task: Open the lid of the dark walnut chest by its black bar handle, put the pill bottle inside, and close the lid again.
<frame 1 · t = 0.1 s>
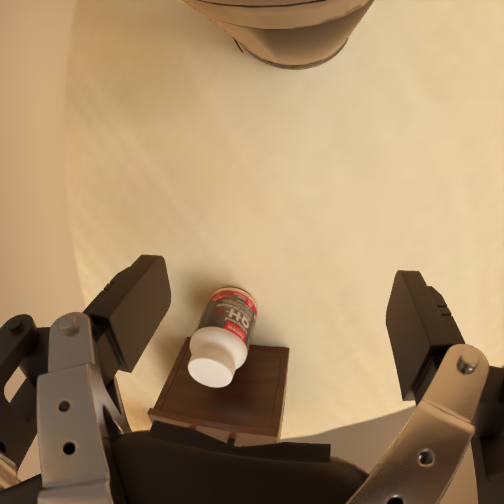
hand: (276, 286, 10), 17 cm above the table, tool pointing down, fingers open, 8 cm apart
lid: (214, 471, 27), point 14 cm above the table, hinge at 0.0°
pill bottle: (233, 304, 33), on the table
chest: (239, 380, 39), on the table
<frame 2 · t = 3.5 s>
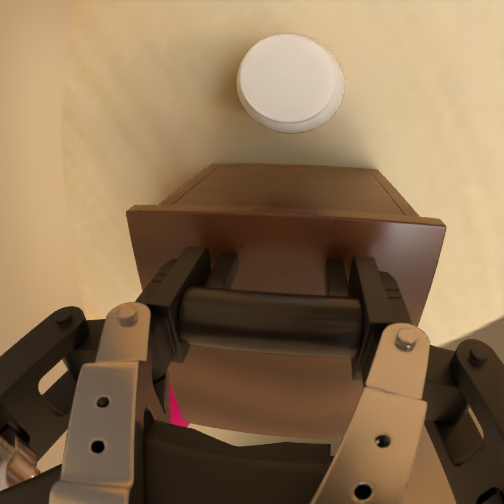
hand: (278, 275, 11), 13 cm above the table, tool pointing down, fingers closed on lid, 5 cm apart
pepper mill: (180, 372, 36), on the table
lid: (273, 393, 13), point 14 cm above the table, hinge at 0.0°, touching gripper
pill bottle: (294, 88, 19), on the table
chest: (292, 252, 25), on the table
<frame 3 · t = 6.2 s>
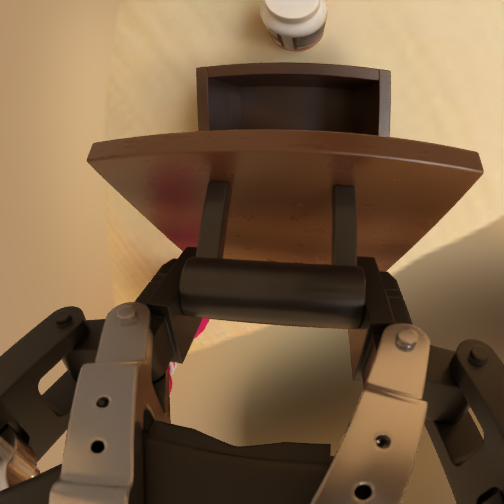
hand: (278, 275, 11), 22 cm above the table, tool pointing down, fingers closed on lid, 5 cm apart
lid: (284, 279, 15), point 19 cm above the table, hinge at 46.5°, touching gripper
pill bottle: (296, 28, 24), on the table
chest: (297, 149, 30), on the table
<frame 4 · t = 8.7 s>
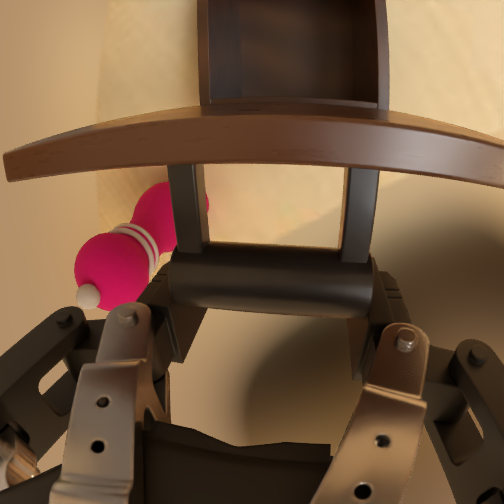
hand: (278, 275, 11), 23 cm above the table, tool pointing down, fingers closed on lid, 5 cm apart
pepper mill: (184, 201, 36), on the table
lid: (286, 166, 12), point 20 cm above the table, hinge at 90.7°, touching gripper
chest: (296, 39, 25), on the table
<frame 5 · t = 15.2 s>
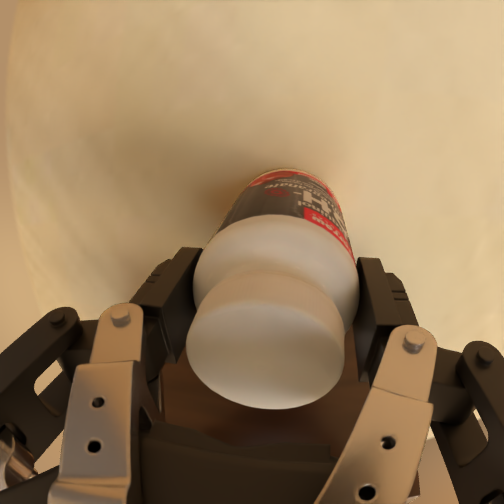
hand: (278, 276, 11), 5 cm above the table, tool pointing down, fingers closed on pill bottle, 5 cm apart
pill bottle: (288, 216, 16), on the table, touching gripper
chest: (280, 382, 22), on the table
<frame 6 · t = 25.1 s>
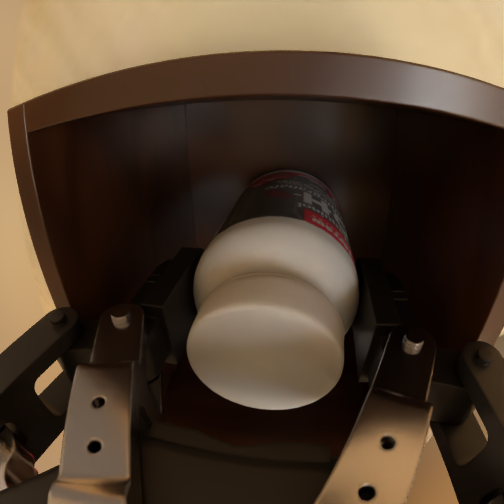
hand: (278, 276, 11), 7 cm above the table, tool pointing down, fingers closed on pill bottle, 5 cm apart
pill bottle: (288, 217, 16), point 2 cm above the table, touching gripper
chest: (290, 214, 18), on the table
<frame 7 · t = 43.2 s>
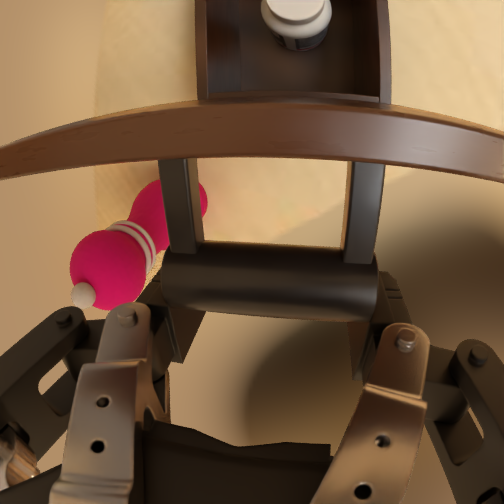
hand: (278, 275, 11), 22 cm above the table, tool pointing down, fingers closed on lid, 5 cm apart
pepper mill: (182, 199, 35), on the table
lid: (286, 161, 12), point 20 cm above the table, hinge at 91.3°, touching gripper
pill bottle: (298, 27, 23), point 1 cm above the table, touching chest
chest: (296, 34, 24), on the table
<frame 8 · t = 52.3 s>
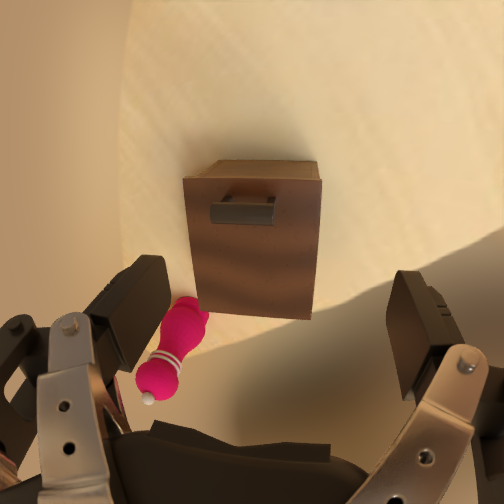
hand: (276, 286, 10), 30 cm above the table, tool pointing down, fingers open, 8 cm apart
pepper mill: (192, 310, 52), on the table
lid: (248, 264, 29), point 14 cm above the table, hinge at 0.5°
chest: (267, 213, 41), on the table
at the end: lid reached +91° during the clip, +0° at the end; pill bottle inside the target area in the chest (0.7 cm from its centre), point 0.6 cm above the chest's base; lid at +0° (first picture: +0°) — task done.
